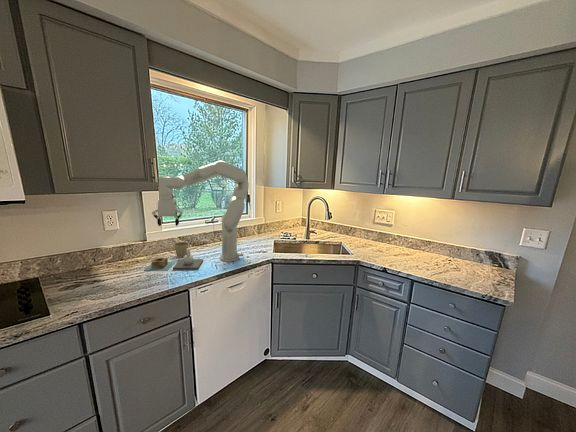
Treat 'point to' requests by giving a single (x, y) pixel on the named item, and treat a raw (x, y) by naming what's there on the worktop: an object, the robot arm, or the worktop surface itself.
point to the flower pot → (181, 249)
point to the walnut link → (159, 262)
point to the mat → (160, 268)
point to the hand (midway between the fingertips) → (168, 225)
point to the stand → (188, 262)
